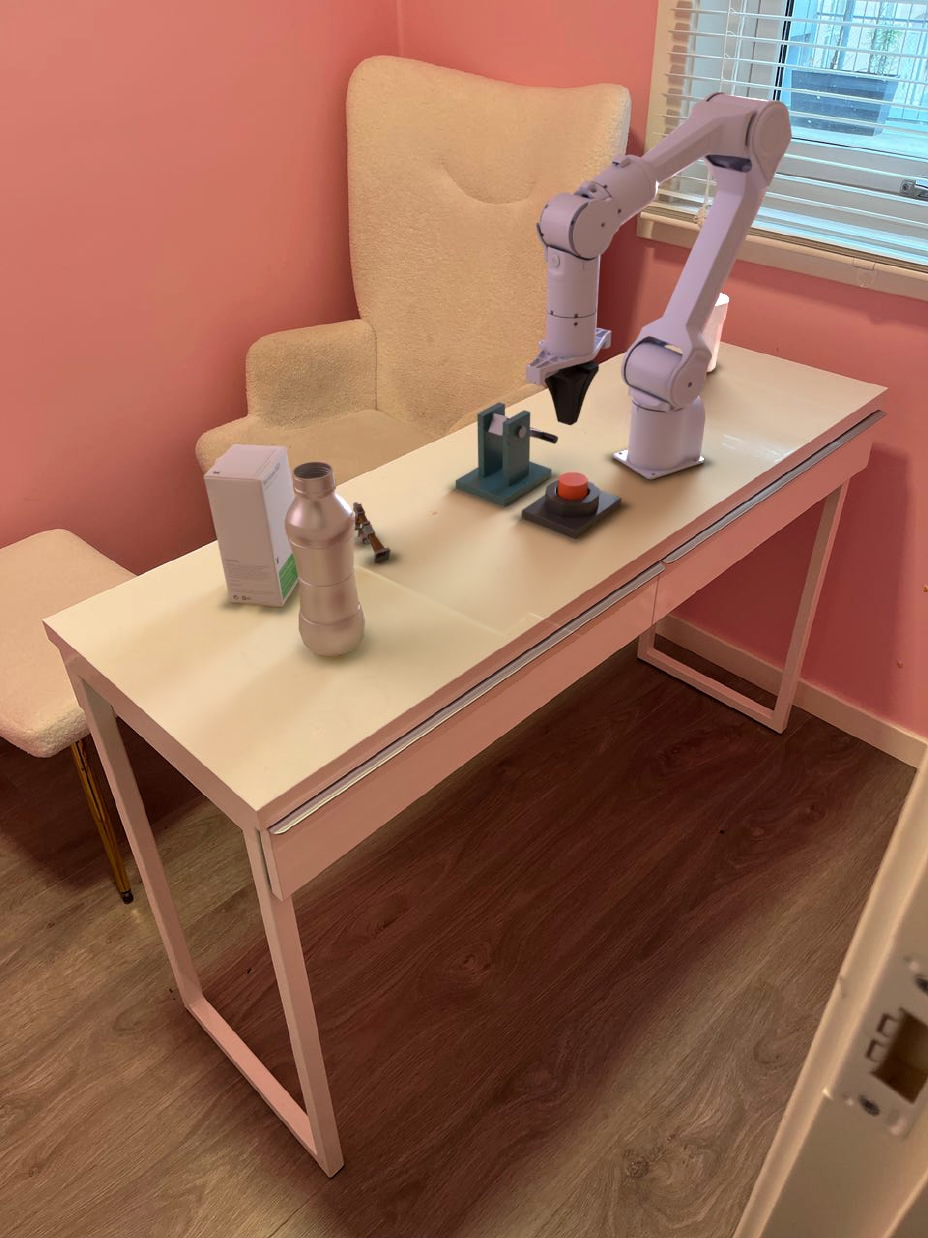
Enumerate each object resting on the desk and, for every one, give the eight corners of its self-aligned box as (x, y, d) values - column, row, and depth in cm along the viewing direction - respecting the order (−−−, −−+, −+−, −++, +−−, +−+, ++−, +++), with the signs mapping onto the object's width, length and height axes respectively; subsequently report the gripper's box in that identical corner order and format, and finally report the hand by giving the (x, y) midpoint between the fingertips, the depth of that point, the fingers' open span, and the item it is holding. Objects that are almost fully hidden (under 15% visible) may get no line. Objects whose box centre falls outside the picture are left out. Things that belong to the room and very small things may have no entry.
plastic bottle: (303, 628, 102) (277, 456, 90) (367, 623, 103) (349, 452, 91) (300, 666, 97) (271, 489, 85) (367, 662, 97) (349, 485, 85)
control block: (568, 487, 125) (569, 466, 124) (621, 506, 121) (622, 484, 119) (521, 518, 119) (521, 497, 117) (575, 539, 115) (576, 517, 113)
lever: (524, 439, 131) (530, 421, 131) (555, 449, 129) (560, 431, 128) (479, 428, 122) (484, 410, 122) (510, 439, 120) (516, 420, 119)
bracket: (503, 460, 132) (503, 391, 126) (551, 476, 128) (553, 407, 122) (455, 488, 126) (453, 418, 120) (504, 507, 122) (504, 435, 116)
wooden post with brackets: (359, 519, 118) (362, 496, 114) (386, 570, 115) (390, 548, 111) (345, 523, 117) (348, 500, 114) (372, 575, 114) (376, 552, 110)
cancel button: (568, 483, 121) (569, 469, 119) (593, 492, 119) (593, 477, 118) (551, 495, 119) (552, 480, 117) (576, 504, 117) (577, 489, 115)
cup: (677, 373, 154) (685, 304, 148) (677, 358, 160) (684, 290, 153) (720, 375, 153) (730, 305, 147) (718, 359, 159) (727, 291, 152)
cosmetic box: (282, 610, 105) (261, 482, 96) (225, 604, 106) (198, 477, 97) (307, 567, 112) (290, 444, 102) (253, 562, 113) (231, 440, 103)
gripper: (578, 286, 116) (573, 393, 124) (504, 320, 107) (504, 434, 115) (629, 297, 112) (621, 407, 120) (556, 334, 103) (553, 450, 111)
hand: (567, 421), depth 117 cm, fingers closed
